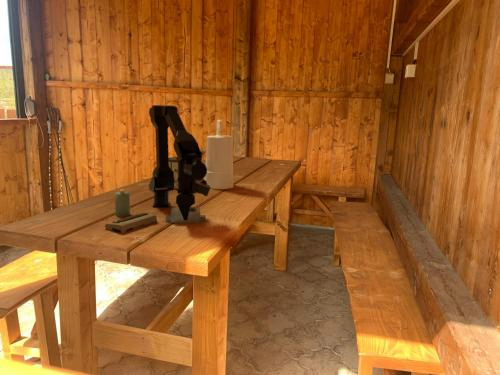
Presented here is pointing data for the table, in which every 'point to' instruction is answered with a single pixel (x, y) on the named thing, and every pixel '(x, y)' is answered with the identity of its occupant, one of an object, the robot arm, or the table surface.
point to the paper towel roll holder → (219, 160)
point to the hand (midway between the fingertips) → (185, 217)
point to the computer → (131, 222)
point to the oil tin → (122, 203)
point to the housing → (192, 216)
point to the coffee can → (174, 169)
